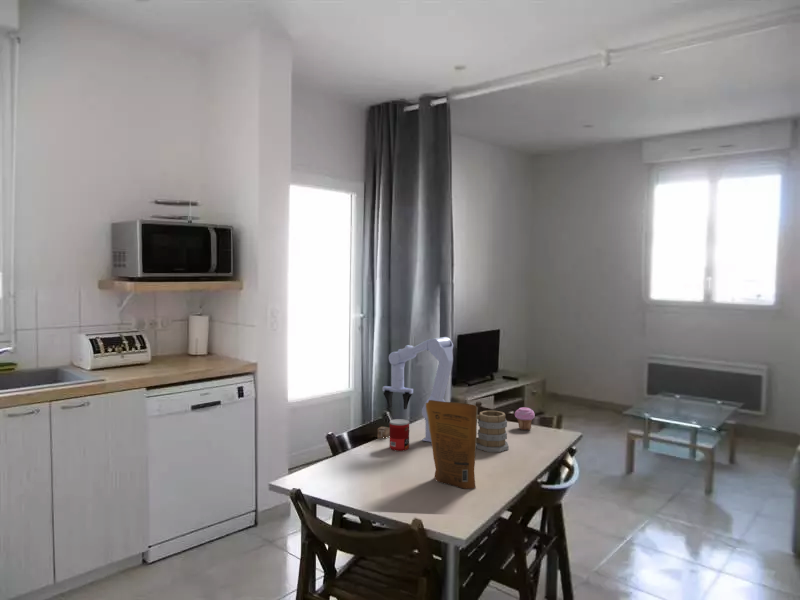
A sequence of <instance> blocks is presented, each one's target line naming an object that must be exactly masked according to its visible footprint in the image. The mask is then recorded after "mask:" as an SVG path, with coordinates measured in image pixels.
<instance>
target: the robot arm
mask: <svg viewBox="0 0 800 600" xmlns="http://www.w3.org/2000/svg"><path fill="white" fill-rule="evenodd" d="M453 349H454V343H453V341H452V339H451V338H449V337H448V336H443V337H435V338H434V337H432V338H430V339H426V340H424V341H422V342H420V343H419V344H416V345H415V346H414V345H412V344H411V345H409V344H407V345H405V346H404V348H399V349H397V351H392V352H390V354H388V362H389V364H390V365H391V370H390V372H391V375H390V376H391V378H390V381H391V382H390V383H391V386H388V385H384V386H382V392H383V396H384V397H385V399H386V400H385V401H386V402H387V406H388V408H389V409H390V408H392V407H393V394H394V393H403V394H402V398H403V410H407V409H408V406H409V403H410V399H411V397H412V395H413V394H414V388H410V387H405V366H406V363H407V362H408V361H410V360H413V359H415V358H416V357H417V355H418V354H420V353H422V352H424V351H425V352H426V351H429V352H430V354H431V355H432V356H433V357H434V358H435V359H436V360H437V361H438V366H437V369H436V373H435V378H434V381H433V386H432V389H431V393H430V396H429V397H428V399H426V401H425V403H424V405H423V407H422V409H421V415H422V417H423V418H424V420H425V434H424V435H425V437H424V438H422V439H421V441H422V442H430V443H431V437H430V431H429V425H428V417H427V412H426V403H428V402H429V400H434V401H442V402H447V401H446V400H445V399H444V398H445V393H446V390H447V386H448V382H449V379H450V374H451V372H452V371H451V370H452V367H453V362H454V356H453Z"/></svg>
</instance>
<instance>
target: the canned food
mask: <svg viewBox="0 0 800 600" xmlns="http://www.w3.org/2000/svg"><path fill="white" fill-rule="evenodd" d="M389 428H390V437H389V449H390V450H392V451H395V450H396V452H402V451H403V450H404V451H407V450H409V449H410V421H409V420H407V419H402V418H401V419H400V418H396V419H395V418H394V419H391V420H389Z"/></svg>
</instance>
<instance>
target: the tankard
mask: <svg viewBox="0 0 800 600" xmlns="http://www.w3.org/2000/svg"><path fill="white" fill-rule="evenodd" d="M477 425H478V427H479V429H477V437H476V449H477V450H479V449H480V451H482V450H484V452H486V451H487V452H486V453H502V452H505V451H508V450H509V443H508V441H506V440H507V439H508V432H507V430H506V428H507V427H508V421H507V418H506V413H505V411H504V412H503V411H498V410H483V411H480V412H479V414H477ZM504 450H505V451H504ZM501 451H502V452H501Z"/></svg>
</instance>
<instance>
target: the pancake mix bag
mask: <svg viewBox="0 0 800 600" xmlns="http://www.w3.org/2000/svg"><path fill="white" fill-rule="evenodd" d="M425 403H426V402H425ZM478 409H479V407H478V406H477V405H474V404H470V403H465V402H464V403H463V402H454V401H446V402H442V401H434V400H429V402H428V403H426V412H427V417H428V425H429V431H430V437H431V442H430V443H431V449H432V456H433V461H434V467H435V472H434V479H435V481H436V480H437V481H436V482H438V483H441V484H444V483H445V484H444V485H448V486H449V485H450V486H453V487H456V488H460V489H463V490H473V489H477V486H476V481H475V479H476V477H475V476H476V475H475V467H476V466H475V465H476V449H477V446H476V438H477V437H478V434H477V433H478V429H477V425H478V419H477V415H478Z"/></svg>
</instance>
